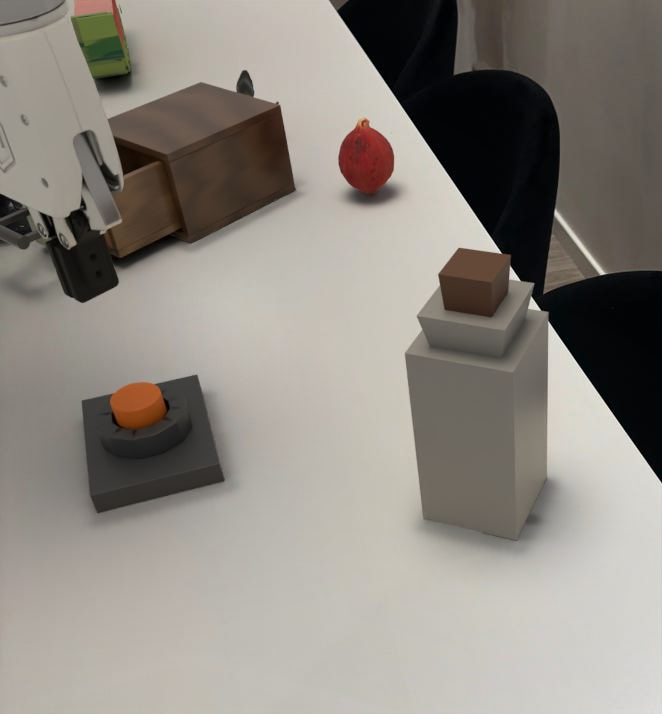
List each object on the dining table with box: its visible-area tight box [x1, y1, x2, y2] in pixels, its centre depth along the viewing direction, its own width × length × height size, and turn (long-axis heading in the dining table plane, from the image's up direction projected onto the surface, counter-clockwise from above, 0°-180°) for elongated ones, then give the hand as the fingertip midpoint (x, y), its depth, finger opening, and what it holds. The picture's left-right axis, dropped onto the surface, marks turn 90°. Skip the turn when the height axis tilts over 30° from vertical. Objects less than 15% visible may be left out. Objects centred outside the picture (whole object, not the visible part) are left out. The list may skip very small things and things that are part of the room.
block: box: [80, 374, 225, 514], centre depth 72 cm, size 12×9×4 cm
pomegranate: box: [337, 117, 395, 196], centre depth 101 cm, size 6×6×8 cm
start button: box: [110, 381, 167, 429], centre depth 70 cm, size 4×4×2 cm
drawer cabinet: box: [107, 81, 297, 244], centre depth 101 cm, size 15×13×9 cm
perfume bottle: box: [404, 247, 549, 541], centre depth 61 cm, size 7×7×18 cm
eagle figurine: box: [235, 69, 280, 105], centre depth 115 cm, size 8×7×9 cm
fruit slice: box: [70, 0, 132, 80], centre depth 134 cm, size 26×6×10 cm, turn 18°
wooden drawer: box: [0, 143, 182, 259], centre depth 94 cm, size 19×11×7 cm, turn 142°
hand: (93, 290), depth 64 cm, fingers closed
